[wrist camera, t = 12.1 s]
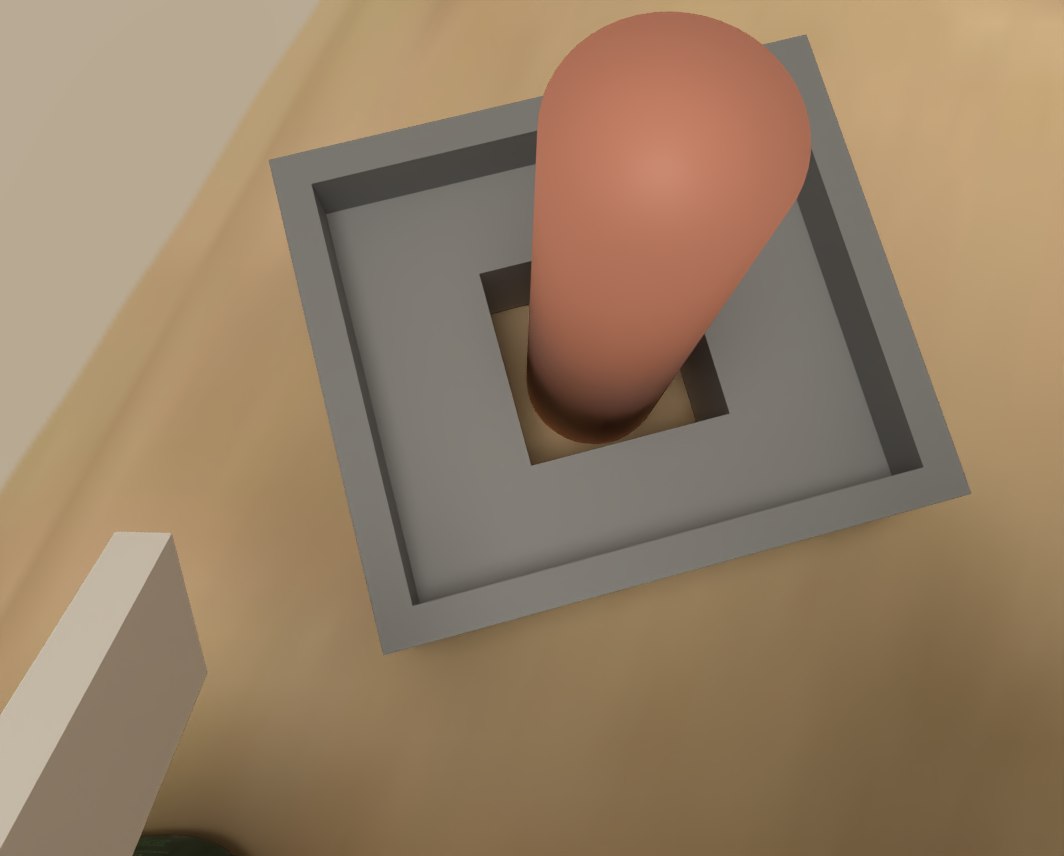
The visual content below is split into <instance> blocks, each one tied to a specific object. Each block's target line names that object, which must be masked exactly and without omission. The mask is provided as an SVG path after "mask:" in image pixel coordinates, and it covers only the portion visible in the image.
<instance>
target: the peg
mask: <svg viewBox="0 0 1064 856" xmlns="http://www.w3.org/2000/svg"><path fill="white" fill-rule="evenodd" d="M810 155H811V131H810V123H809V118H808V114H807V110H806V107H805V103H804V101H803V99H802V96H801V94H800V92H799V89H798V87H797V86H796V84H795V82H794V81H793V79H792V77H791V76H790V74H789V72H788V71H787V70H786V69H785V67H784V66H783V65H782V64H781V62H780V61H779V60H778V59H777V58H776V57H775V56H774V55H773V54H772V53H771V52H770V51H769V50H768V49H767V48H766V47H765V46H763V45H762V44H761V43H759V42H758V41H757V40H756V39H754V38H753V37H751V36H750V35H748V34H746V33H745V32H743V31H741V30H740V29H738V28H736V27H733V26H731V25H729V24H727V23H724V22H722V21H719V20H716V19H713V18H709V17H706V16H702V15H696V14H691V13H682V12H653V13H647V14H641V15H636V16H632V17H629V18H625V19H622V20H619V21H617V22H614V23H612V24H610V25H607V26H605V27H603V28H601V29H600V30H598V31H596V32H595V33H593V34H591V35H590V36H588V37H587V38H586V39H584V40H583V41H582V42H581V43H579V44H578V45H577V46H576V47H575V48H574V49H573V50H572V51H571V52H570V53H569V54H568V55H567V56H566V57H565V58H564V60H563V61H562V62H561V64H560V65H559V66H558V68H557V69H556V70H555V72H554V74H553V76H552V78H551V79H550V81H549V83H548V85H547V88H546V90H545V93H544V96H543V98H542V102H541V106H540V111H539V115H538V128H537V148H536V171H535V194H534V217H533V240H532V263H531V286H530V309H529V332H528V355H527V389H528V394H529V397H530V400H531V403H532V405H533V407H534V409H535V411H536V412H537V414H538V415H539V416H540V418H541V419H542V420H543V421H544V422H545V423H546V424H547V425H548V426H549V427H550V428H551V429H552V430H554V431H555V432H557V433H558V434H560V435H562V436H564V437H566V438H568V439H571V440H574V441H577V442H582V443H592V444H595V443H605V442H611V441H614V440H617V439H620V438H622V437H624V436H626V435H628V434H629V433H631V432H632V431H634V430H635V429H636V428H637V427H638V426H640V425H641V424H642V422H643V421H644V420H645V419H646V418H647V416H648V415H649V413H650V412H651V411H652V409H653V408H654V406H655V405H656V403H657V402H658V400H659V399H660V397H661V396H662V395H663V393H664V392H665V390H666V389H667V387H668V386H669V384H670V383H671V381H672V380H673V379H674V377H675V376H676V374H677V373H678V371H679V370H680V368H681V367H682V365H683V364H684V363H685V361H686V360H687V358H688V357H689V355H690V354H691V352H692V351H693V349H694V348H695V347H696V345H697V344H698V342H699V341H700V339H701V338H702V336H703V335H704V333H705V332H706V331H707V329H708V328H709V326H710V325H711V323H712V322H713V320H714V319H715V317H716V316H717V315H718V313H719V312H720V310H721V309H722V307H723V306H724V304H725V303H726V302H727V300H728V299H729V297H730V296H731V294H732V293H733V291H734V290H735V288H736V287H737V286H738V284H739V283H740V281H741V280H742V278H743V277H744V275H745V274H746V272H747V271H748V270H749V268H750V267H751V265H752V264H753V262H754V261H755V259H756V258H757V256H758V255H759V254H760V252H761V251H762V249H763V248H764V246H765V245H766V243H767V242H768V240H769V239H770V238H771V236H772V235H773V233H774V232H775V230H776V229H777V227H778V226H779V224H780V223H781V222H782V220H783V219H784V217H785V216H786V214H787V213H788V211H789V210H790V208H791V207H792V205H793V204H794V202H795V201H796V199H797V197H798V195H799V193H800V191H801V189H802V186H803V184H804V181H805V178H806V175H807V171H808V168H809V162H810Z"/></svg>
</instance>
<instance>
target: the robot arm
mask: <svg viewBox="0 0 1064 856" xmlns="http://www.w3.org/2000/svg"><path fill="white" fill-rule="evenodd" d="M206 675H207V669H206V665H205V661H204V657H203V653H202V650H201V646H200V642H199V638H198V634H197V630H196V626H195V622H194V618H193V614H192V610H191V606H190V602H189V598H188V595H187V591H186V587H185V583H184V579H183V575H182V571H181V567H180V563H179V559H178V555H177V551H176V547H175V544H174V540H173V536H172V533H150V532H115V533H114V535H113V536H112V538H111V539H110V541H109V543H108V544H107V546H106V547H105V549H104V551H103V552H102V554H101V555H100V557H99V558H98V560H97V562H96V563H95V565H94V566H93V568H92V570H91V571H90V573H89V574H88V576H87V578H86V579H85V581H84V582H83V584H82V586H81V587H80V589H79V590H78V592H77V594H76V595H75V597H74V598H73V600H72V602H71V603H70V605H69V606H68V608H67V610H66V611H65V613H64V614H63V616H62V617H61V619H60V621H59V622H58V624H57V625H56V627H55V629H54V630H53V632H52V633H51V635H50V637H49V638H48V640H47V641H46V643H45V645H44V646H43V648H42V649H41V651H40V653H39V654H38V656H37V657H36V659H35V661H34V662H33V664H32V665H31V667H30V669H29V670H28V672H27V673H26V675H25V677H24V678H23V680H22V681H21V683H20V684H19V686H18V688H17V689H16V691H15V692H14V694H13V696H12V697H11V699H10V700H9V702H8V704H7V705H6V707H5V708H4V710H3V712H2V713H1V715H0V856H132V855H133V853H134V850H135V848H136V846H137V843H138V841H139V838H140V836H141V833H142V831H143V828H144V826H145V824H146V821H147V819H148V816H149V814H150V811H151V809H152V807H153V804H154V802H155V799H156V797H157V794H158V792H159V789H160V787H161V785H162V782H163V780H164V777H165V775H166V772H167V770H168V767H169V765H170V763H171V760H172V758H173V755H174V753H175V750H176V748H177V746H178V743H179V741H180V738H181V736H182V733H183V731H184V728H185V726H186V724H187V721H188V719H189V716H190V714H191V711H192V709H193V706H194V704H195V702H196V699H197V697H198V694H199V692H200V689H201V687H202V685H203V682H204V680H205V677H206Z"/></svg>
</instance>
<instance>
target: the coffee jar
mask: <svg viewBox="0 0 1064 856" xmlns="http://www.w3.org/2000/svg"><path fill="white" fill-rule="evenodd" d="M132 856H233V855H232V854H231V853H230V852H229V851H227V850H225V849H224V848H222V847H221V846H219V845H217V844H214V843H212V842H210V841H207V840H204V839H200V838H196V837H189V836H182V835H156V836H140V838H139V841H138V843H137V846H136V848H135V850H134V853H133V855H132Z"/></svg>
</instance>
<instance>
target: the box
mask: <svg viewBox="0 0 1064 856" xmlns="http://www.w3.org/2000/svg"><path fill="white" fill-rule="evenodd" d="M763 46H765V47H766V48H767V49H768V50H769V51H770V52H771V53H772V54H773V55H774V56H775V57H776V58H777V59H778V60H779V61H780V62H781V64H782V65H783V66H784V67H785V69H786V70H787V71H788V72H789V74H790V76H791V77H792V79H793V81H794V82H795V84H796V86H797V87H798V89H799V92H800V94H801V96H802V99H803V101H804V103H805V107H806V110H807V114H808V118H809V123H810V131H811V155H810V162H809V168H808V171H807V175H806V178H805V181H804V184H803V186H802V189H801V191H800V193H799V195H798V197H797V199H796V201H795V202H794V204H793V205H792V207H791V208H790V210H789V211H788V213H787V214H786V216H785V217H784V219H783V220H782V222H781V223H780V224H779V226H778V227H777V229H776V230H775V232H774V233H773V235H772V236H771V238H770V239H769V240H768V242H767V243H766V245H765V246H764V248H763V249H762V251H761V252H760V254H759V255H758V256H757V258H756V259H755V261H754V262H753V264H752V265H751V267H750V268H749V270H748V271H747V272H746V274H745V275H744V277H743V278H742V280H741V281H740V283H739V284H738V286H737V287H736V288H735V290H734V291H733V293H732V294H731V296H730V297H729V299H728V300H727V302H726V303H725V304H724V306H723V307H722V309H721V310H720V312H719V313H718V315H717V316H716V317H715V319H714V320H713V322H712V323H711V325H710V326H709V328H708V329H707V331H706V332H705V333H704V335H703V336H702V338H701V339H700V341H699V342H698V344H697V345H696V347H695V348H694V349H693V351H692V352H691V354H690V355H689V357H688V358H687V360H686V361H685V363H684V364H683V365H682V367H681V368H680V370H681V373H682V376H683V380H684V383H685V386H686V389H687V393H688V396H689V399H690V402H691V406H692V409H693V412H694V415H695V419H696V423H692V424H688V425H685V426H681V427H677V428H673V429H669V430H666V431H662V432H658V433H654V434H650V435H647V436H643V437H639V438H635V439H631V440H628V441H624V442H620V443H616V444H612V445H608V446H605V447H601V448H597V449H593V450H589V451H586V452H582V453H578V454H574V455H570V456H567V457H563V458H559V459H555V460H551V461H548V462H544V463H540V464H536V465H532V466H531V463H530V459H529V456H528V452H527V448H526V445H525V441H524V437H523V433H522V430H521V426H520V422H519V419H518V415H517V411H516V408H515V404H514V400H513V397H512V393H511V389H510V385H509V382H508V378H507V374H506V371H505V367H504V363H503V360H502V356H501V352H500V349H499V345H498V341H497V337H496V334H495V330H494V326H493V323H492V319H491V315H490V314H491V313H495V312H499V311H503V310H507V309H511V308H515V307H519V306H523V305H527V304H530V286H531V263H532V240H533V217H534V194H535V171H536V148H537V128H538V115H539V111H540V106H541V102H542V98H543V96H541V97H537V98H532V99H528V100H524V101H519V102H515V103H511V104H507V105H502V106H498V107H494V108H489V109H485V110H481V111H477V112H472V113H468V114H464V115H459V116H455V117H451V118H447V119H442V120H438V121H434V122H429V123H425V124H421V125H417V126H412V127H408V128H404V129H399V130H395V131H391V132H387V133H382V134H378V135H374V136H370V137H365V138H361V139H357V140H352V141H348V142H344V143H340V144H335V145H331V146H327V147H322V148H318V149H314V150H310V151H305V152H301V153H297V154H292V155H288V156H284V157H280V158H275V159H271V160H269V163H270V168H271V172H272V176H273V181H274V185H275V189H276V194H277V198H278V202H279V207H280V211H281V215H282V220H283V224H284V228H285V233H286V237H287V241H288V245H289V250H290V254H291V258H292V263H293V267H294V271H295V276H296V280H297V284H298V289H299V293H300V297H301V302H302V306H303V310H304V315H305V319H306V323H307V328H308V332H309V336H310V341H311V345H312V349H313V354H314V358H315V362H316V367H317V371H318V375H319V379H320V384H321V388H322V392H323V397H324V401H325V405H326V410H327V414H328V418H329V423H330V427H331V431H332V436H333V440H334V444H335V449H336V453H337V457H338V462H339V466H340V470H341V475H342V479H343V483H344V488H345V492H346V496H347V500H348V505H349V509H350V513H351V518H352V522H353V526H354V531H355V535H356V539H357V544H358V548H359V552H360V557H361V561H362V565H363V570H364V574H365V578H366V583H367V587H368V591H369V596H370V600H371V604H372V609H373V613H374V617H375V622H376V626H377V630H378V634H379V639H380V643H381V647H382V652H383V655H386V654H390V653H393V652H397V651H401V650H404V649H408V648H412V647H415V646H419V645H423V644H426V643H430V642H433V641H437V640H441V639H444V638H448V637H452V636H455V635H459V634H463V633H466V632H470V631H474V630H477V629H481V628H484V627H488V626H492V625H495V624H499V623H503V622H506V621H510V620H514V619H517V618H521V617H524V616H528V615H532V614H535V613H539V612H543V611H546V610H550V609H554V608H557V607H561V606H565V605H568V604H572V603H575V602H579V601H583V600H586V599H590V598H594V597H597V596H601V595H605V594H608V593H612V592H615V591H619V590H623V589H626V588H630V587H634V586H637V585H641V584H645V583H648V582H652V581H656V580H659V579H663V578H666V577H670V576H674V575H677V574H681V573H685V572H688V571H692V570H696V569H699V568H703V567H706V566H710V565H714V564H717V563H721V562H725V561H728V560H732V559H736V558H739V557H743V556H746V555H750V554H754V553H757V552H761V551H765V550H768V549H772V548H776V547H779V546H783V545H787V544H790V543H794V542H797V541H801V540H805V539H808V538H812V537H816V536H819V535H823V534H827V533H830V532H834V531H837V530H841V529H845V528H848V527H852V526H856V525H859V524H863V523H867V522H870V521H874V520H878V519H881V518H885V517H888V516H892V515H896V514H899V513H903V512H907V511H910V510H914V509H918V508H921V507H925V506H928V505H932V504H936V503H939V502H943V501H947V500H950V499H954V498H958V497H961V496H965V495H969V494H971V491H970V488H969V486H968V483H967V480H966V477H965V474H964V472H963V469H962V466H961V463H960V461H959V458H958V455H957V452H956V449H955V447H954V444H953V441H952V438H951V436H950V433H949V430H948V427H947V424H946V422H945V419H944V416H943V413H942V411H941V408H940V405H939V402H938V399H937V397H936V394H935V391H934V388H933V385H932V383H931V380H930V377H929V374H928V372H927V369H926V366H925V363H924V360H923V358H922V355H921V352H920V349H919V347H918V344H917V341H916V338H915V335H914V333H913V330H912V327H911V324H910V322H909V319H908V316H907V313H906V310H905V308H904V305H903V302H902V299H901V296H900V294H899V291H898V288H897V285H896V283H895V280H894V277H893V274H892V271H891V269H890V266H889V263H888V260H887V258H886V255H885V252H884V249H883V246H882V244H881V241H880V238H879V235H878V233H877V230H876V227H875V224H874V221H873V219H872V216H871V213H870V210H869V207H868V205H867V202H866V199H865V196H864V194H863V191H862V188H861V185H860V182H859V180H858V177H857V174H856V171H855V169H854V166H853V163H852V160H851V157H850V155H849V152H848V149H847V146H846V144H845V141H844V138H843V135H842V132H841V130H840V127H839V124H838V121H837V118H836V116H835V113H834V110H833V107H832V105H831V102H830V99H829V96H828V93H827V91H826V88H825V85H824V82H823V80H822V77H821V74H820V71H819V68H818V66H817V63H816V60H815V57H814V54H813V52H812V49H811V46H810V43H809V41H808V38H807V35H802V36H798V37H793V38H789V39H785V40H781V41H776V42H772V43H768V44H763Z"/></svg>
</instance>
